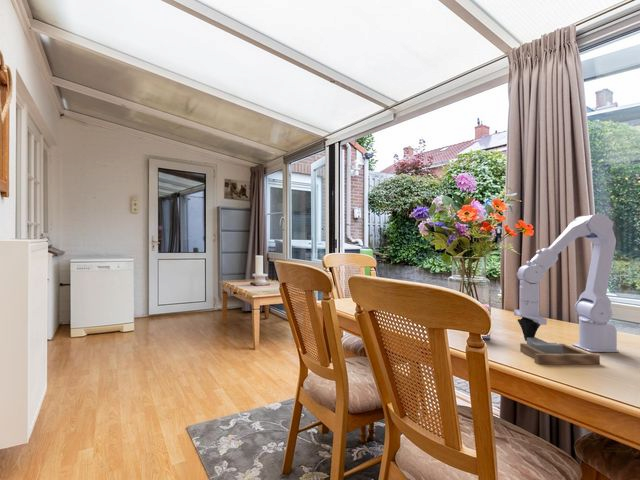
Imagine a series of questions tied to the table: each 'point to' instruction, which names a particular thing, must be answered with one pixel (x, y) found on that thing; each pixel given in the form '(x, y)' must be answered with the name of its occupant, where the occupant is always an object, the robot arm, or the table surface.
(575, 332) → the table surface
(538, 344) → the t block
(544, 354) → the walnut bay
